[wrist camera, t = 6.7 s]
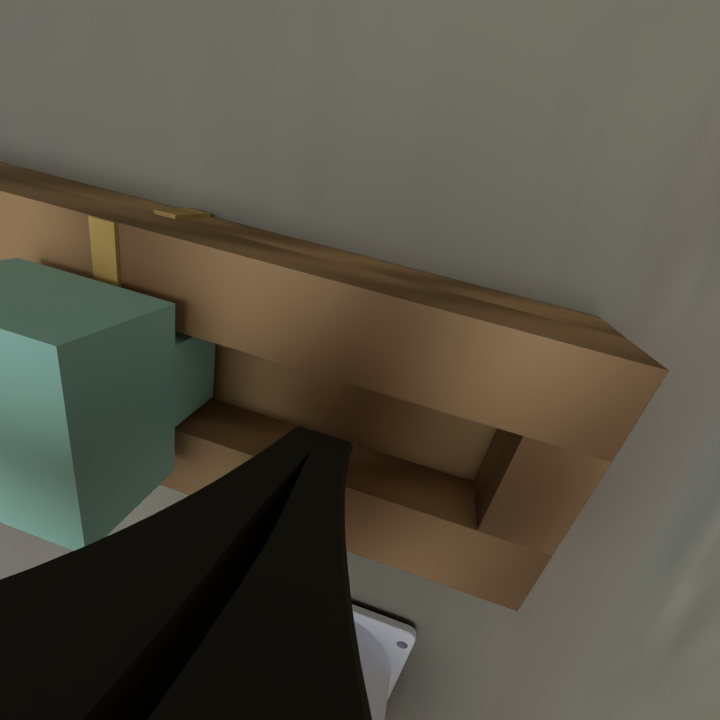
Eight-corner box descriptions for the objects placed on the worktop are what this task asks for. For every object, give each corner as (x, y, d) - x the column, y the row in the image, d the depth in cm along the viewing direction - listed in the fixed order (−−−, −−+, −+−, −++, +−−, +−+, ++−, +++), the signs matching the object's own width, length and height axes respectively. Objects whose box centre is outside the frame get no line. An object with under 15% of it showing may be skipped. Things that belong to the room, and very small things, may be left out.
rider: (225, 285, 11) (56, 346, 6) (216, 429, 13) (85, 555, 8) (92, 248, 11) (-155, 279, 7) (105, 393, 14) (-76, 492, 9)
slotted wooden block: (600, 313, 11) (765, 434, 5) (499, 512, 15) (532, 719, 9) (-67, 141, 14) (-445, 95, 8) (-20, 343, 17) (-260, 414, 11)
